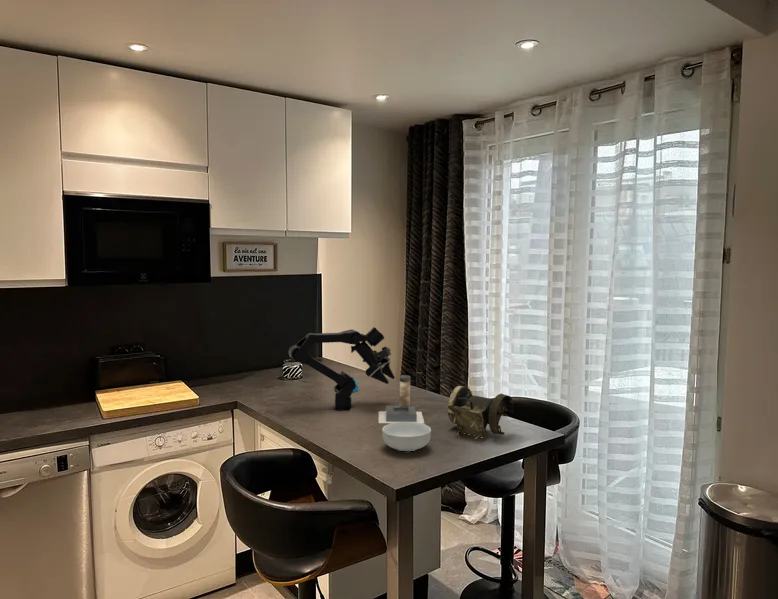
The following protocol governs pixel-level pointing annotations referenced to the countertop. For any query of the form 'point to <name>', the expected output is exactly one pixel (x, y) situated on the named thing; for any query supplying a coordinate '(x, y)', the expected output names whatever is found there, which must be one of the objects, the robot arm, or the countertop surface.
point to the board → (383, 420)
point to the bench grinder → (477, 411)
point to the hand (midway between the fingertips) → (391, 380)
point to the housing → (401, 414)
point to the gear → (356, 386)
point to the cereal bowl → (406, 435)
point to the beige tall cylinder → (404, 390)
